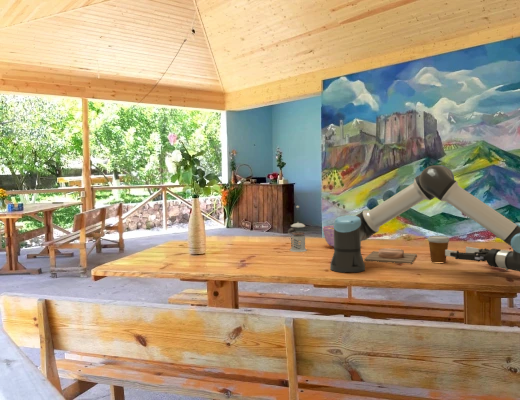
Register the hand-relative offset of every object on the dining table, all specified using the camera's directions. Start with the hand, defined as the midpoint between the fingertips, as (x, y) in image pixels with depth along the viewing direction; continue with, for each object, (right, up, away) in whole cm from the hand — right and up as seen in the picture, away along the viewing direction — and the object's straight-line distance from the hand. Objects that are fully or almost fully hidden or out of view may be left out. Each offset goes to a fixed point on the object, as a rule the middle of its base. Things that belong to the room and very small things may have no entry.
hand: (456, 251), depth 203 cm
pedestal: (-24, -6, +20) cm, 32 cm away
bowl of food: (-43, -4, +54) cm, 69 cm away
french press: (-68, -5, +48) cm, 83 cm away
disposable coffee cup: (-4, -6, +9) cm, 12 cm away
